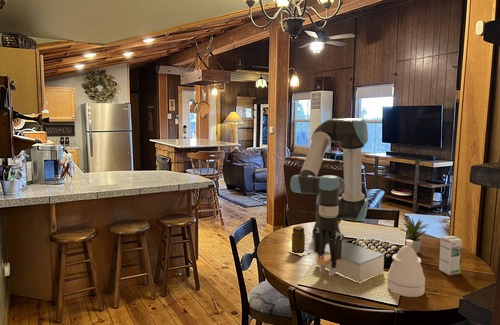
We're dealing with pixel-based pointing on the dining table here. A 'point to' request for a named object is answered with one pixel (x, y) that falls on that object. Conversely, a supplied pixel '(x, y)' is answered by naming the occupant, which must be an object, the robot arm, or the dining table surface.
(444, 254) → the syrup box
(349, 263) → the mailer box
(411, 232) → the house plant
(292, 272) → the dining table surface
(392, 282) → the honey pot
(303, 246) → the condiment
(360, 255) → the lid
